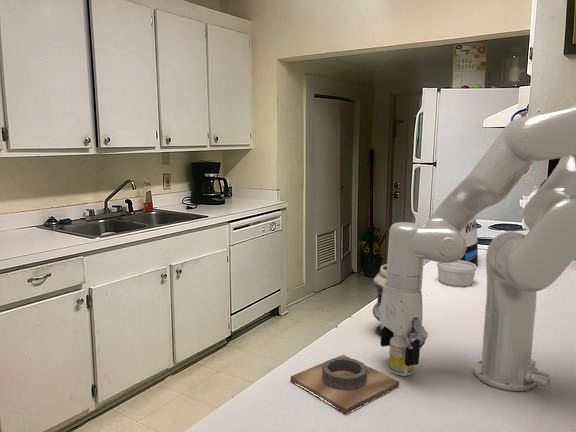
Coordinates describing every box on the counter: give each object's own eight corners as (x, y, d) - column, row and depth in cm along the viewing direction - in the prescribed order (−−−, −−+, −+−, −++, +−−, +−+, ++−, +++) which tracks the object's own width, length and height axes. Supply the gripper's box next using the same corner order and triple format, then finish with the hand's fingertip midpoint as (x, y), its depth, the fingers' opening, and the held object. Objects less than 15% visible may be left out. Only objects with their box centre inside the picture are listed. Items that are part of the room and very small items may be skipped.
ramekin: (483, 286, 166) (484, 266, 165) (453, 290, 161) (454, 270, 160) (457, 276, 178) (458, 258, 177) (428, 279, 174) (429, 261, 172)
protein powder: (448, 270, 186) (452, 194, 181) (458, 256, 207) (462, 188, 202) (473, 273, 181) (479, 195, 177) (481, 259, 203) (486, 189, 198)
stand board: (399, 386, 98) (399, 370, 98) (345, 414, 88) (346, 396, 87) (343, 359, 110) (343, 344, 110) (290, 381, 100) (290, 365, 100)
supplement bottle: (393, 377, 102) (394, 335, 101) (385, 365, 107) (387, 325, 106) (417, 376, 103) (419, 334, 101) (408, 364, 108) (410, 324, 106)
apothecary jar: (362, 331, 126) (364, 266, 124) (390, 320, 134) (393, 258, 131) (399, 346, 117) (402, 276, 114) (427, 333, 125) (431, 267, 122)
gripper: (368, 270, 108) (364, 340, 111) (412, 294, 92) (406, 375, 95) (396, 268, 111) (392, 337, 114) (444, 291, 95) (437, 370, 98)
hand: (398, 354), depth 104 cm, fingers open, 9 cm apart
